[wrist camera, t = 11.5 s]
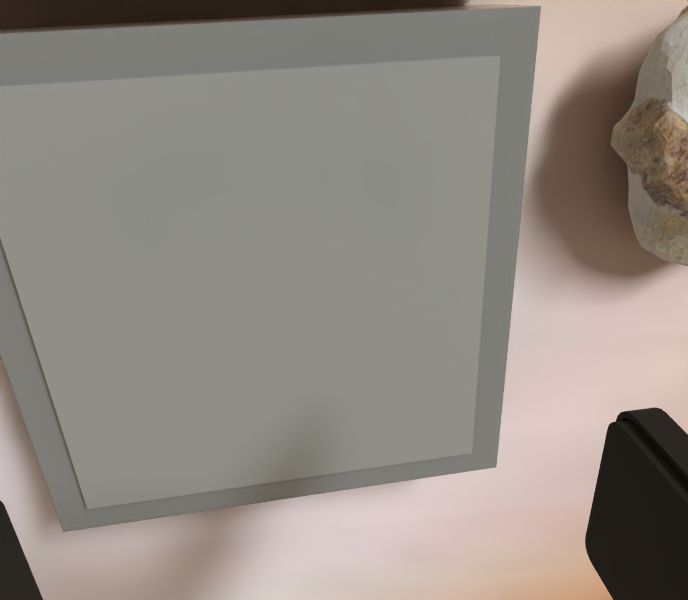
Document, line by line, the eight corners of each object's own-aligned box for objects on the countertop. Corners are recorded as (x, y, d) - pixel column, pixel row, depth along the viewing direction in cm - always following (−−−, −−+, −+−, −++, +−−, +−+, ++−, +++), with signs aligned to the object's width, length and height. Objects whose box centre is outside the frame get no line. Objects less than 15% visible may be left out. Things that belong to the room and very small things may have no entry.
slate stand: (491, 4, 17) (545, 6, 14) (466, 413, 23) (498, 472, 20) (-50, 32, 15) (-118, 40, 12) (84, 465, 21) (61, 538, 18)
